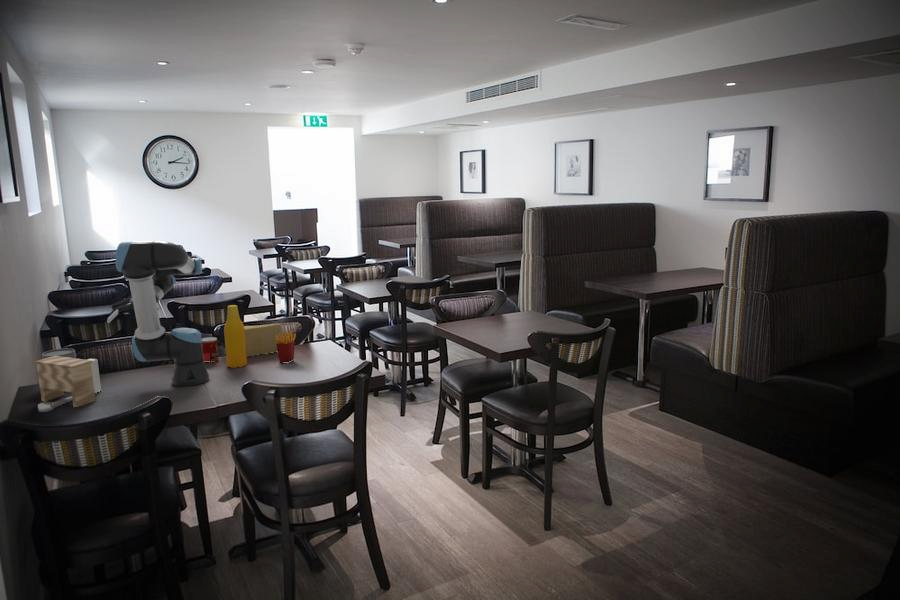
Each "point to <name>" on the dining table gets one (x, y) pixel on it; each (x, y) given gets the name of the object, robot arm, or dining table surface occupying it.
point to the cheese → (261, 338)
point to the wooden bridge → (66, 379)
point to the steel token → (45, 406)
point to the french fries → (285, 347)
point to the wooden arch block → (95, 381)
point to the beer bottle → (234, 339)
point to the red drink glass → (210, 349)
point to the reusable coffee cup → (60, 353)
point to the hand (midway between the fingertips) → (121, 327)
